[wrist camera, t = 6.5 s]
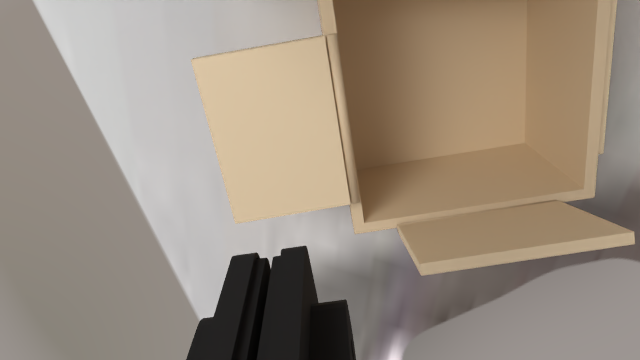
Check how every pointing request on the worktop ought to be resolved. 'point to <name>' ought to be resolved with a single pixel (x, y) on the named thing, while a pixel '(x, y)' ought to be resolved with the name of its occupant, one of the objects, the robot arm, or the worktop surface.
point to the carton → (471, 102)
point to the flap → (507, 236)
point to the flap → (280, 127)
